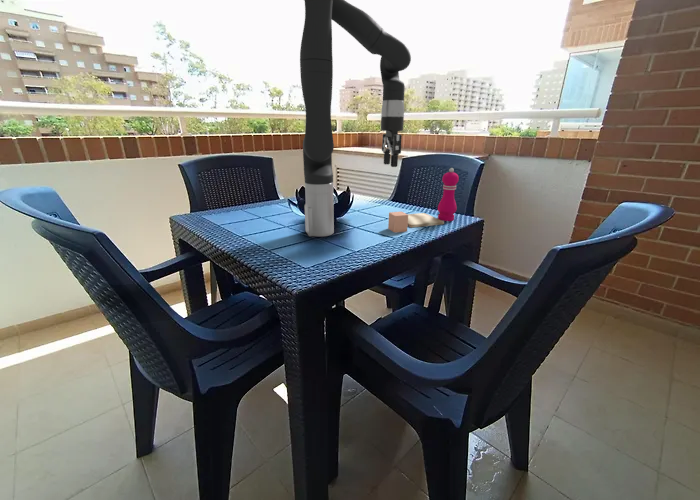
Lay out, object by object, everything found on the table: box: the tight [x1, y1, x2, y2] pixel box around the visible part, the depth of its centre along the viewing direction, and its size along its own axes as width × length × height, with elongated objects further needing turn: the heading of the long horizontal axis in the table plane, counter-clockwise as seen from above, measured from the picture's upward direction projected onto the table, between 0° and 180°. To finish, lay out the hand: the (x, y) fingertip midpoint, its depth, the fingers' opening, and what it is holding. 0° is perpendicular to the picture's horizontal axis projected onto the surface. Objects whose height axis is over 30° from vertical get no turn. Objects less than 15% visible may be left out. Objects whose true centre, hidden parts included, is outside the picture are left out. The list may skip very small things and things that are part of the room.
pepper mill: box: [437, 167, 459, 222], centre depth 124 cm, size 7×7×20 cm
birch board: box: [407, 212, 445, 228], centre depth 124 cm, size 14×14×1 cm
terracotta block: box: [387, 211, 409, 233], centre depth 112 cm, size 5×5×6 cm
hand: (390, 165), depth 112 cm, fingers open, 8 cm apart
